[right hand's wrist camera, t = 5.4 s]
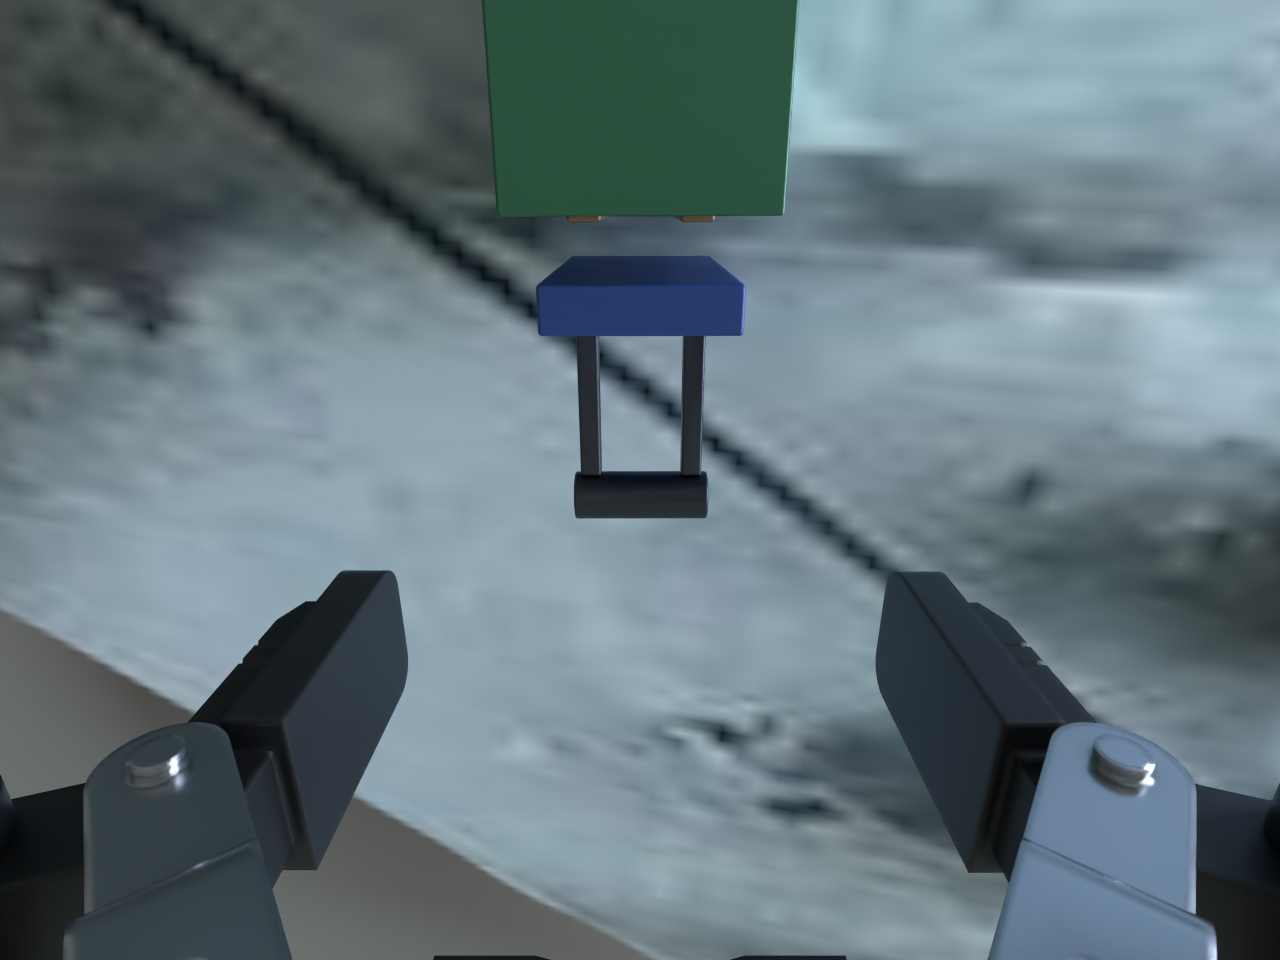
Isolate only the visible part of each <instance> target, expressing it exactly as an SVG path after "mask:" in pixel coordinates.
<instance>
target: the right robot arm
mask: <svg viewBox="0 0 1280 960" xmlns="http://www.w3.org/2000/svg"><path fill="white" fill-rule="evenodd" d="M407 671H408V653H407V645H406V638H405V631H404V624H403V617H402V610H401V603H400V596H399V589H398V583H397V580H396V577H395V575H394V573H393V572H392V571H342V572H340V573H339V574H338V575H337V576H336V578H335V579H334V580H333V581H332V583H331V584H330V585H329V586H328V587H327V589H326V590H325V591H324V592H323V594H322V595H321V596H320V597H319V599H318V600H317V601H306V602H304V603H303V604H301V605H300V606H298V607H296V608H295V609H293V610H292V611H290V612H288V613H287V614H285V615H284V616H282V617H280V618H279V619H277V620H276V621H275V623H274V624H273V625H272V626H271V627H270V628H269V629H268V631H267V632H266V633H265V634H264V635H263V636H262V637H261V639H260V640H259V641H258V645H255V646H254V647H253V648H252V649H251V650H250V651H249V652H248V654H247V655H246V656H245V657H244V658H243V663H242V664H238V665H237V666H236V667H235V669H234V670H233V671H232V672H231V673H230V674H229V675H228V677H227V678H226V679H225V680H224V681H223V682H222V683H221V685H220V686H219V687H218V688H217V689H216V690H215V692H214V693H213V694H212V695H211V696H210V697H209V698H208V700H207V701H206V702H205V703H204V704H203V705H202V707H201V708H200V709H199V710H198V711H197V712H196V713H195V715H194V716H193V717H192V718H191V719H190V720H189V721H188V723H180V724H175V725H170V726H166V727H163V728H160V729H156V730H153V731H151V732H148V733H146V734H143V735H141V736H139V737H137V738H135V739H133V740H131V741H129V742H127V743H126V744H124V745H122V746H121V747H119V748H118V749H116V750H115V751H113V752H112V753H111V754H109V755H108V756H107V757H106V758H105V759H103V760H102V761H101V762H100V763H99V764H98V765H97V767H96V768H95V769H94V770H93V771H92V773H91V774H90V775H89V777H88V779H87V781H86V783H83V784H79V785H74V786H69V787H65V788H60V789H56V790H51V791H47V792H42V793H38V794H33V795H29V796H24V797H20V798H15V799H11V798H10V796H9V793H8V791H7V789H6V786H5V784H4V782H3V779H2V777H1V775H0V960H292V957H291V953H290V950H289V946H288V943H287V939H286V935H285V932H284V928H283V925H282V921H281V918H280V914H279V911H278V907H277V904H276V900H275V897H274V893H273V890H272V888H273V887H274V885H275V883H276V881H277V879H278V877H279V875H280V873H281V872H282V870H317V869H318V867H319V865H320V862H321V860H322V858H323V856H324V854H325V852H326V850H327V848H328V846H329V844H330V842H331V840H332V838H333V836H334V834H335V831H336V829H337V827H338V825H339V823H340V821H341V819H342V817H343V815H344V813H345V811H346V809H347V807H348V805H349V803H350V800H351V798H352V796H353V794H354V792H355V790H356V788H357V786H358V784H359V782H360V780H361V778H362V776H363V774H364V772H365V769H366V767H367V765H368V763H369V761H370V759H371V757H372V755H373V753H374V751H375V749H376V747H377V745H378V743H379V741H380V738H381V736H382V734H383V732H384V730H385V728H386V726H387V724H388V722H389V720H390V718H391V716H392V714H393V712H394V710H395V707H396V705H397V703H398V701H399V699H400V697H401V695H402V693H403V690H404V687H405V683H406V678H407ZM876 675H877V681H878V686H879V689H880V692H881V695H882V697H883V699H884V701H885V703H886V705H887V707H888V709H889V711H890V713H891V715H892V718H893V720H894V722H895V724H896V726H897V728H898V730H899V732H900V734H901V736H902V738H903V740H904V742H905V744H906V746H907V748H908V750H909V752H910V754H911V756H912V758H913V760H914V762H915V764H916V767H917V769H918V771H919V773H920V775H921V777H922V779H923V781H924V783H925V785H926V787H927V789H928V791H929V793H930V795H931V797H932V799H933V801H934V803H935V805H936V807H937V809H938V811H939V813H940V816H941V818H942V820H943V822H944V824H945V826H946V828H947V830H948V832H949V834H950V836H951V838H952V840H953V842H954V844H955V846H956V848H957V850H958V852H959V854H960V856H961V858H962V860H963V862H964V864H965V867H966V869H967V871H968V873H1004V875H1005V877H1006V878H1007V880H1008V882H1009V886H1008V889H1007V893H1006V897H1005V900H1004V904H1003V907H1002V911H1001V914H1000V918H999V921H998V925H997V928H996V932H995V935H994V939H993V943H992V946H991V950H990V953H989V957H988V960H1280V784H1279V786H1278V788H1277V791H1276V793H1275V795H1274V798H1273V800H1272V801H1269V800H1265V799H1260V798H1256V797H1251V796H1247V795H1242V794H1238V793H1233V792H1228V791H1224V790H1219V789H1215V788H1210V787H1206V786H1202V785H1198V784H1195V783H1194V781H1193V779H1192V777H1191V775H1190V774H1189V773H1188V771H1187V770H1186V769H1185V768H1184V766H1183V765H1182V764H1181V763H1180V762H1179V761H1178V760H1177V759H1175V758H1174V757H1173V756H1172V755H1171V754H1169V753H1168V752H1167V751H1165V750H1164V749H1162V748H1161V747H1159V746H1158V745H1156V744H1154V743H1153V742H1151V741H1149V740H1147V739H1145V738H1143V737H1141V736H1139V735H1137V734H1134V733H1132V732H1129V731H1127V730H1124V729H1121V728H1117V727H1114V726H1110V725H1105V724H1100V723H1097V722H1096V721H1095V720H1094V719H1093V718H1092V717H1091V716H1090V714H1089V713H1088V712H1087V711H1086V710H1085V709H1084V708H1083V706H1082V705H1081V704H1080V703H1079V702H1078V701H1077V700H1076V698H1075V697H1074V696H1073V695H1072V694H1071V693H1070V692H1069V690H1068V689H1067V688H1066V687H1065V686H1064V685H1063V684H1062V682H1061V681H1060V680H1059V679H1058V678H1057V677H1056V676H1055V675H1054V673H1053V672H1052V671H1051V670H1050V669H1049V668H1048V667H1047V665H1043V664H1042V660H1041V659H1040V657H1039V656H1038V655H1037V654H1036V653H1035V652H1034V651H1033V649H1032V648H1031V647H1027V645H1026V641H1025V640H1024V639H1023V638H1022V637H1021V636H1020V635H1019V633H1018V632H1017V631H1016V630H1015V629H1014V628H1013V627H1012V626H1011V624H1010V623H1009V622H1008V621H1007V620H1005V619H1004V618H1002V617H1000V616H999V615H997V614H995V613H994V612H992V611H991V610H989V609H987V608H986V607H984V606H983V605H981V604H979V603H968V602H967V600H966V599H965V598H964V597H963V596H962V594H961V593H960V592H959V591H958V590H957V588H956V587H955V586H954V585H953V583H952V582H951V581H950V580H949V579H948V577H947V576H946V575H945V574H944V573H942V572H892V573H891V574H890V576H889V578H888V580H887V583H886V589H885V596H884V603H883V609H882V616H881V623H880V630H879V637H878V644H877V651H876ZM433 960H549V959H546V958H542V957H538V956H434V959H433ZM731 960H847V959H846V956H742V957H738V958H734V959H731Z"/></svg>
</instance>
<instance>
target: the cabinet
mask: <svg viewBox="0 0 1280 960" xmlns="http://www.w3.org/2000/svg"><path fill="white" fill-rule="evenodd" d="M482 7H483V21H484V35H485V49H486V64H487V78H488V92H489V106H490V120H491V134H492V148H493V162H494V176H495V190H496V204H497V214H498V215H499V216H782V215H784V213H785V201H786V186H787V172H788V157H789V143H790V128H791V114H792V99H793V85H794V70H795V56H796V41H797V27H798V12H799V0H482Z"/></svg>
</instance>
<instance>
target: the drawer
mask: <svg viewBox="0 0 1280 960" xmlns="http://www.w3.org/2000/svg"><path fill="white" fill-rule="evenodd" d="M608 217H610V216H566V219H567V221H568V222H599V221H602V220H604V219H606V218H608ZM672 217H674V218H676V219H678V220H680V221H683V222H713V221H714V220H715V216H672ZM745 297H746V287H745V285H744V284H743V283H742V282H740V281H739V280H738V279H737V278H735V277H734V276H733V275H732V274H730V273H729V272H728V271H727V270H726V269H724V268H723V267H722V266H721V265H719V264H718V263H717V262H716V261H714V260H713V259H712V258H711V257H709V256H573V257H571V258H570V259H569V260H568V261H566V262H565V263H564V264H563V265H561V266H560V267H559V268H558V269H556V270H555V271H554V272H553V273H552V274H550V275H549V276H548V277H547V278H545V279H544V280H543V281H542V282H541V283H539V284H538V285H537V287H536V299H537V318H538V333H539V335H541V336H576V339H577V368H578V397H579V426H580V455H581V471H580V472H576V474H575V481H574V509H575V516H576V518H706V516H707V512H708V479H707V474H706V472H705V471H701V458H702V428H703V397H704V366H705V336H740V335H742V334H743V332H744V316H745ZM599 336H683V359H682V408H681V456H680V470H681V471H602V452H601V408H600V365H599Z"/></svg>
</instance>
